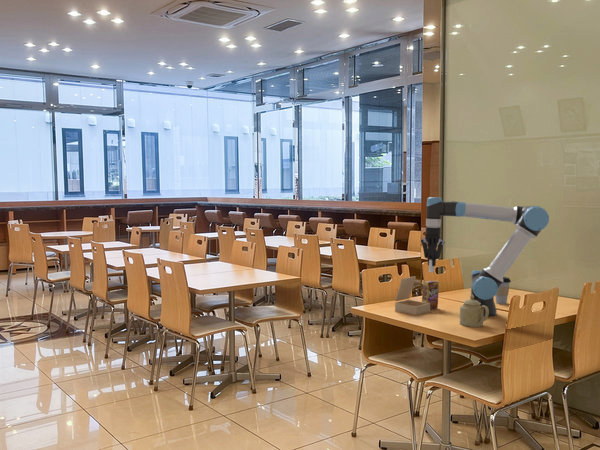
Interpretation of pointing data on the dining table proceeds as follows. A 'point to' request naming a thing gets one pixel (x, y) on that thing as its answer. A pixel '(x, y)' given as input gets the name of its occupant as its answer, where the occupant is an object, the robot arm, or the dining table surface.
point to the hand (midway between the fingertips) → (431, 272)
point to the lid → (405, 288)
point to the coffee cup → (503, 291)
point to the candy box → (430, 293)
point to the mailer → (412, 307)
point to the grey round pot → (472, 313)
